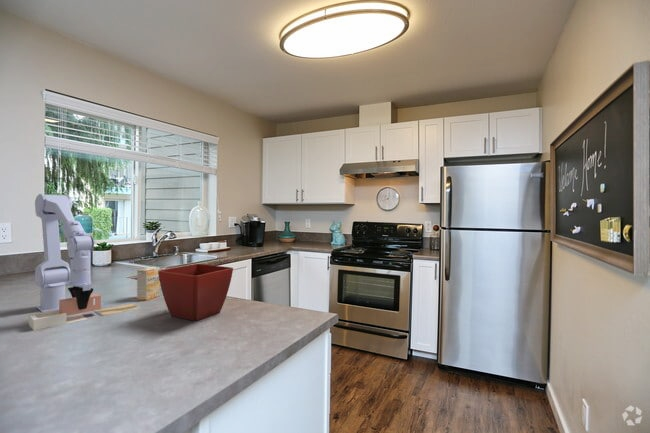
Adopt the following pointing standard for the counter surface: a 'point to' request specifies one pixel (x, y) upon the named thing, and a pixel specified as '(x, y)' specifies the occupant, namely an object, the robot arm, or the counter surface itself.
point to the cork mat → (117, 309)
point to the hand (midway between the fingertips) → (80, 307)
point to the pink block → (71, 305)
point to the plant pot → (195, 289)
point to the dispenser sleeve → (53, 319)
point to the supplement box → (148, 283)
